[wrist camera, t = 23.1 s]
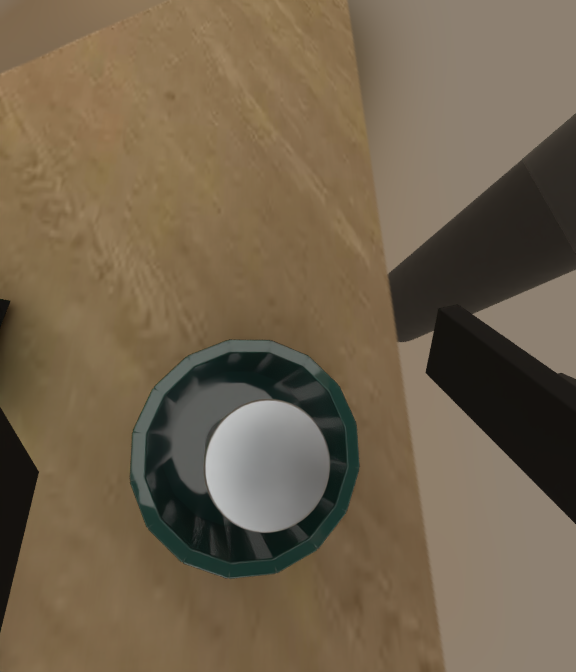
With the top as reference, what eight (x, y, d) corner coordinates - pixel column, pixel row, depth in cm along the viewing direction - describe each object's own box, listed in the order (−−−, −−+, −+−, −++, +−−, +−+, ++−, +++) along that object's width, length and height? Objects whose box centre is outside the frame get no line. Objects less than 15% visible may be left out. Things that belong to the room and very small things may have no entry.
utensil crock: (278, 340, 25) (304, 309, 19) (342, 484, 24) (394, 505, 17) (128, 402, 23) (95, 391, 16) (190, 566, 22) (183, 628, 15)
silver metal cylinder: (253, 404, 23) (300, 379, 12) (278, 462, 23) (350, 495, 11) (195, 430, 22) (183, 430, 11) (219, 491, 22) (234, 559, 10)
